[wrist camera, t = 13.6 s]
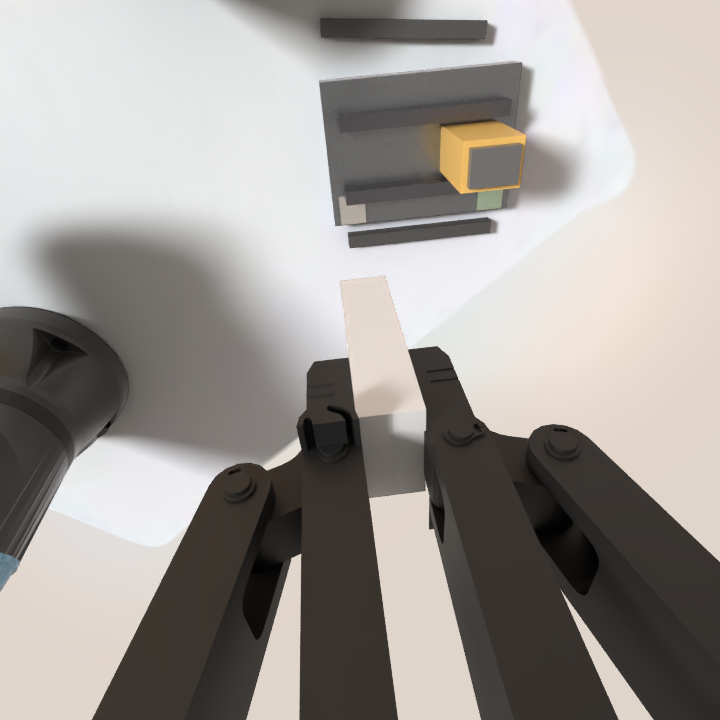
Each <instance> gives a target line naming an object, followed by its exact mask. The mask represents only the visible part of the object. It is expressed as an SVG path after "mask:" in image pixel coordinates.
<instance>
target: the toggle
mask: <svg viewBox="0 0 720 720" xmlns="http://www.w3.org/2000/svg"><path fill="white" fill-rule="evenodd" d="M525 142H526V135H525V134H523V133H521V132H519V131H517V130H515V129H513V128H511V127H509V126H507V125H505V124H503V123H501V122H499V121H497V120H486V121H476V122H467V123H457V124H447V125H441V142H440V172H441V173H442V174H443V175H444V176H445V177H446V178H447V180H448V181H449V182H450V183H451V184H452V185H453V186H454V187H455V188H456V189H457V190H458V192H459V193H460V194H464V193H473V192H482V191H492V190H501V189H510V188H520V183H521V175H522V167H523V159H524V150H525Z"/></svg>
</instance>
